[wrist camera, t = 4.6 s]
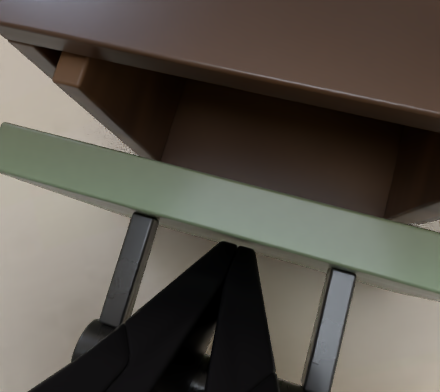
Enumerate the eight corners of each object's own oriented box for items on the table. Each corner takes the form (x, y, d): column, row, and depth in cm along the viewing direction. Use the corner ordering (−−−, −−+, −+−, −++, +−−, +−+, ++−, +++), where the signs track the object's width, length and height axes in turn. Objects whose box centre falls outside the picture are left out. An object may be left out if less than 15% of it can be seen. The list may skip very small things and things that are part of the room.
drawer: (376, 398, 15) (518, 570, 7) (90, 305, 17) (-84, 346, 9) (461, -1, 18) (646, -251, 9) (201, -44, 20) (152, -283, 11)
